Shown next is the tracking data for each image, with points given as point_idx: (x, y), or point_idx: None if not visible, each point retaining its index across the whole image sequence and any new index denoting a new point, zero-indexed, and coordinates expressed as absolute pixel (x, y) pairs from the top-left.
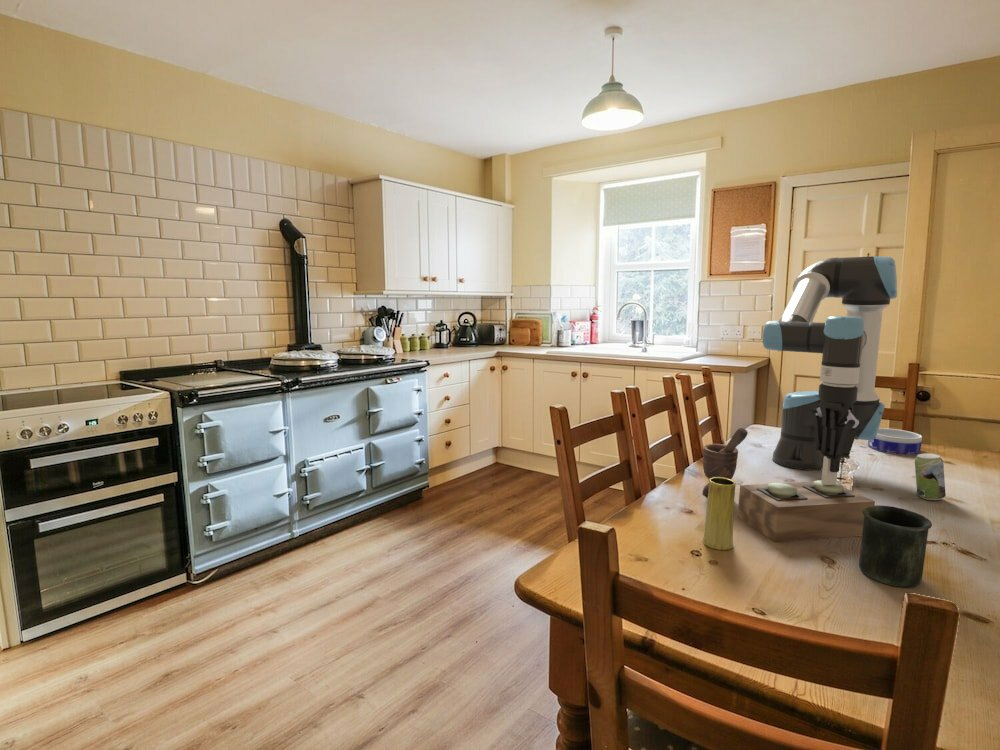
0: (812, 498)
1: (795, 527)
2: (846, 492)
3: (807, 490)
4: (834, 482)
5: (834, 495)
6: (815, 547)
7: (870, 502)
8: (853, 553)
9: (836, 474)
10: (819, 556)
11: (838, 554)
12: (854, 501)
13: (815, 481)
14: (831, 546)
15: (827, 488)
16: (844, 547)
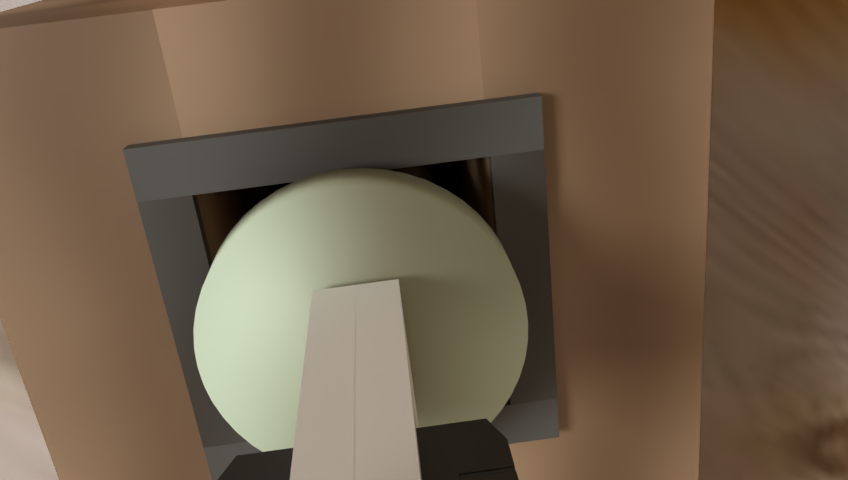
0: None
1: None
2: (437, 133)
3: None
4: (403, 318)
5: None
6: (701, 431)
7: (707, 5)
8: (817, 265)
9: (405, 361)
10: (802, 465)
11: (807, 357)
12: (680, 199)
13: (243, 428)
14: (707, 338)
15: (490, 421)
16: (735, 269)
